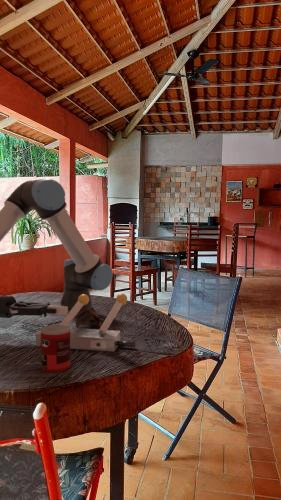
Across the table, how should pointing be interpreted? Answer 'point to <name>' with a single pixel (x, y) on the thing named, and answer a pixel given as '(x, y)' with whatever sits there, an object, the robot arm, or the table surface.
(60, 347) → the canned food
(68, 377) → the table surface
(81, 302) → the toggle
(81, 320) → the pottery mug
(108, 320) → the toggle
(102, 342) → the switch box
